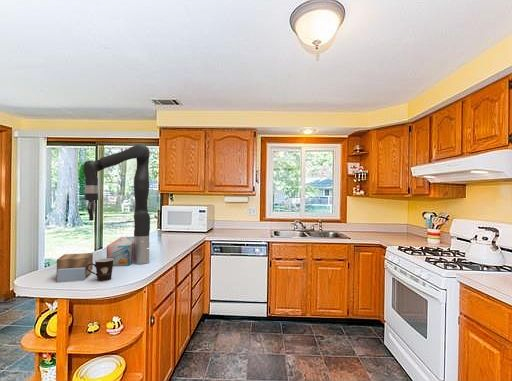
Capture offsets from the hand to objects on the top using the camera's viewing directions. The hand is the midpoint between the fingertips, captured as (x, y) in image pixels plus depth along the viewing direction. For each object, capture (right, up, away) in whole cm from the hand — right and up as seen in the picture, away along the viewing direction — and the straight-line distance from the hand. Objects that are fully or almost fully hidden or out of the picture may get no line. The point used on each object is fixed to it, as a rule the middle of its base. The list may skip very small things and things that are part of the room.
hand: (91, 220), depth 197 cm
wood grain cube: (+7, -25, -29) cm, 39 cm away
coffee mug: (+23, -27, -35) cm, 50 cm away
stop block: (+9, -27, -37) cm, 47 cm away
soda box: (+15, -28, +13) cm, 34 cm away
